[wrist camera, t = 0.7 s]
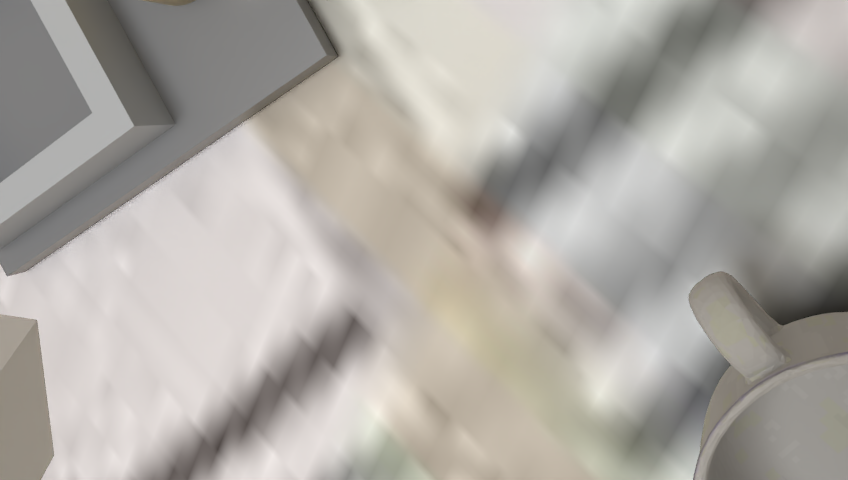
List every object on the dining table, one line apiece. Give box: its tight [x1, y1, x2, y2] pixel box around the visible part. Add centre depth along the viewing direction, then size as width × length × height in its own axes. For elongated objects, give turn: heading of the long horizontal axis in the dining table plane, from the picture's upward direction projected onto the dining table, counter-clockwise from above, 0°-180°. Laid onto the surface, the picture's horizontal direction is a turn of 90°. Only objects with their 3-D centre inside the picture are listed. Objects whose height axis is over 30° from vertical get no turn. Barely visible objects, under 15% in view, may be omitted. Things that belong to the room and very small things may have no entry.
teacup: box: [689, 272, 848, 480], centre depth 29 cm, size 14×11×8 cm
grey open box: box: [0, 0, 338, 276], centre depth 37 cm, size 22×16×6 cm
